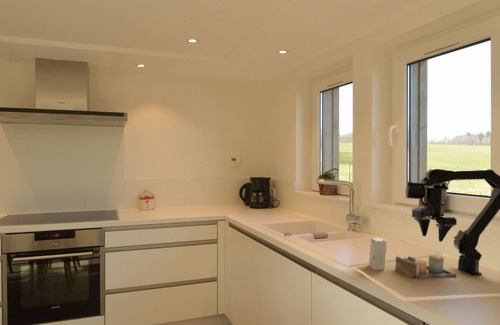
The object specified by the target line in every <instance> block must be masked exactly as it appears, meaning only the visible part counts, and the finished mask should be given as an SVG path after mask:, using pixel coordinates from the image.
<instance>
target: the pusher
mask: <svg viewBox="0 0 500 325" xmlns="http://www.w3.org/2000/svg"><path fill="white" fill-rule="evenodd" d="M403 259H405V260H407V261H409V262H411V263H414V264H416V267H415V275H419V263H418V262H416V261H415V259H416V258H414V257H412V256H407V257H406V256H405V257H403Z"/></svg>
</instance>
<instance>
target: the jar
mask: <svg viewBox="0 0 500 325" xmlns="http://www.w3.org/2000/svg"><path fill="white" fill-rule="evenodd" d="M415 261H416V262H418V263H419V275H425V274H426V268H427V266H428V265H427V264H428V263H427V261H425V260H422V259H416V258H415Z"/></svg>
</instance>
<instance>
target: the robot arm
mask: <svg viewBox="0 0 500 325" xmlns="http://www.w3.org/2000/svg"><path fill="white" fill-rule="evenodd" d="M467 180H469V181H471V180H484V181H485V182H486V183H487V184H488V185H489V186H490V187H491V188H492V191H491V194H490V197H489V200H488V202H487V203H486V204H485V205H484V207H483V208H482V210H481V211H480V213H478V215H477V216H476V217H475V219H474V220H473V222H472V223H471V224H470V226H469V227H468V228H467V229H465V230H464V231H463V230H461V229H459V231H457V234H456V235H455V236H454V237H453V247H454V248H455V249H456V250H458V253H459V254H460V255H459V256H458V258H459V259H458V262H457V270H459V271H462V272H464V273H466V274H469V275H471V276H478V275H483V273H482V272H480V270H479V269H480V267H479V266H480V260H481V259H482V256H483V255H482V254H481V253H480V252H479V251H478V250H477V249H476V248H477V246H478V243H479V239H480V236H481V235H482V233H483V232H485V229H486V228H487V227H488V226H489V224H490V223H491V221H492V220H493V219H494V218H495V217H496V216H497V214H498V212H499V211H500V175H499V174H498V173H497V172H495V171H494V170H493V169H489V168H485V169H472V170H471V169H470V170H466V169H465V170H464V169H463V170H450V169H449V170H447V169H443V168H442V169H439V168H430V169H428V170H427V171H426V172H425V176H424V178H423V179H422V180H421V181H420V182H412V181H407V184H406V188H405V198H406V199H409V200H410V199H413V200H422V199H423V198H425V201H423V202H422V205H421V206H417V207H414V208H413V209H411V211H412V212H411V217H412V218H413V219H414V220H415V221H416V222H417V223H418V224H419V228H420V232H421V234H422V237H427V235H428V230H429V227H430V223H431V220H433V221H435V222H436V223H435V225H436V227H437V228H438V241H439V242H443V241H444V239H445V238H446V236H447V235H448V233H449V231H450V230H451V229H452V228H453V227H455V226H456V225H458V224H457V222H458V221H457V218H456V217H454V216H451V215H450V216H449V215H445V213H442V210H443V209H442V207H444V206H445V203H444V202H443V190H449V187H448V186H446V183H447V182H451V181H467Z"/></svg>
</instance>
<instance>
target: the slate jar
mask: <svg viewBox="0 0 500 325" xmlns="http://www.w3.org/2000/svg"><path fill="white" fill-rule="evenodd" d="M444 259H445V258H444V256H441V255H437V254H435V255H434V254H429V255H428V263H427V264H428V265H427V266H428V272H429V273H431V274H443V269H444V262H445V260H444Z"/></svg>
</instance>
